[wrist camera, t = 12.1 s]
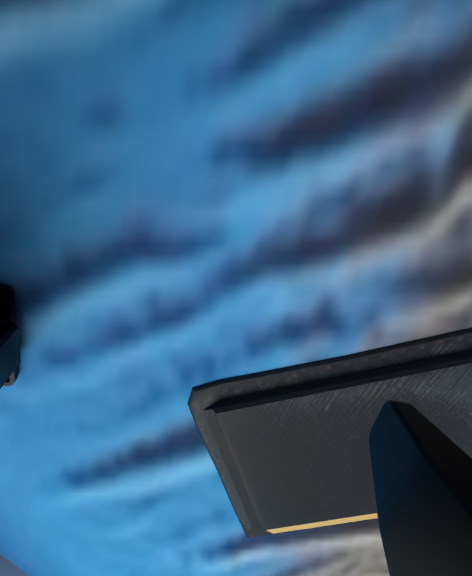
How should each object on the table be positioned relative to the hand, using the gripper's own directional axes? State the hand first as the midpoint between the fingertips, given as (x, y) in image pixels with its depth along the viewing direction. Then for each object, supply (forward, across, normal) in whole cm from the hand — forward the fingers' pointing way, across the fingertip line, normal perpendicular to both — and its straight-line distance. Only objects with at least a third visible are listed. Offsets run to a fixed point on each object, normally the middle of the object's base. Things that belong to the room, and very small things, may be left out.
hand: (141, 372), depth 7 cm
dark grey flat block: (+14, -13, +14) cm, 23 cm away
